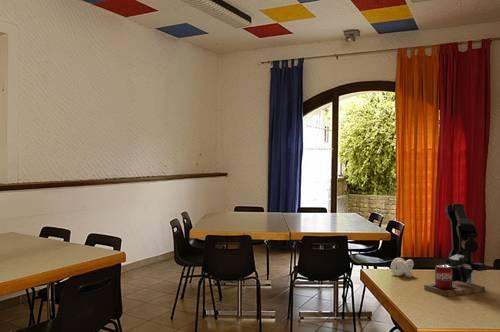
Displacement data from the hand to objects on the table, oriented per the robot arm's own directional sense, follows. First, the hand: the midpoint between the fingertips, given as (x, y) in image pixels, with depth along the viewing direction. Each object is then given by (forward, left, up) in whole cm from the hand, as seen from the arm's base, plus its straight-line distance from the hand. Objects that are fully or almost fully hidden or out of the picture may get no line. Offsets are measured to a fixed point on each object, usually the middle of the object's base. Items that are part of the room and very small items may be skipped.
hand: (464, 281), depth 207 cm
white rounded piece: (+8, -33, -4) cm, 34 cm away
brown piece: (+7, 0, -3) cm, 8 cm away
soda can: (+14, 0, -4) cm, 15 cm away
